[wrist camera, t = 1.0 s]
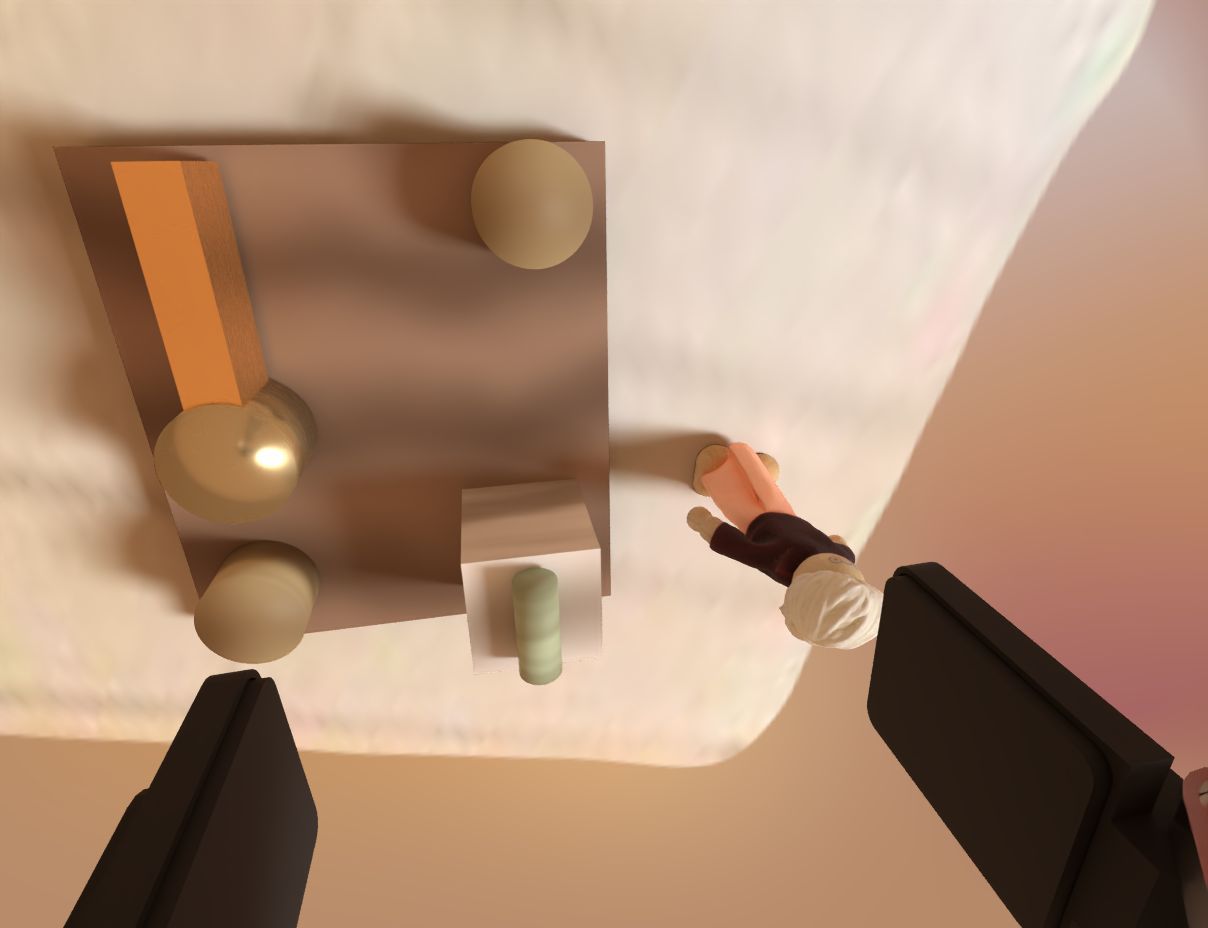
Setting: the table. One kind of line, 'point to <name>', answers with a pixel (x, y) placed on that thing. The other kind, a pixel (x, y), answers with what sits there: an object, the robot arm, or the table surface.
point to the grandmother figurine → (784, 548)
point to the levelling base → (401, 388)
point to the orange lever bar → (211, 350)
